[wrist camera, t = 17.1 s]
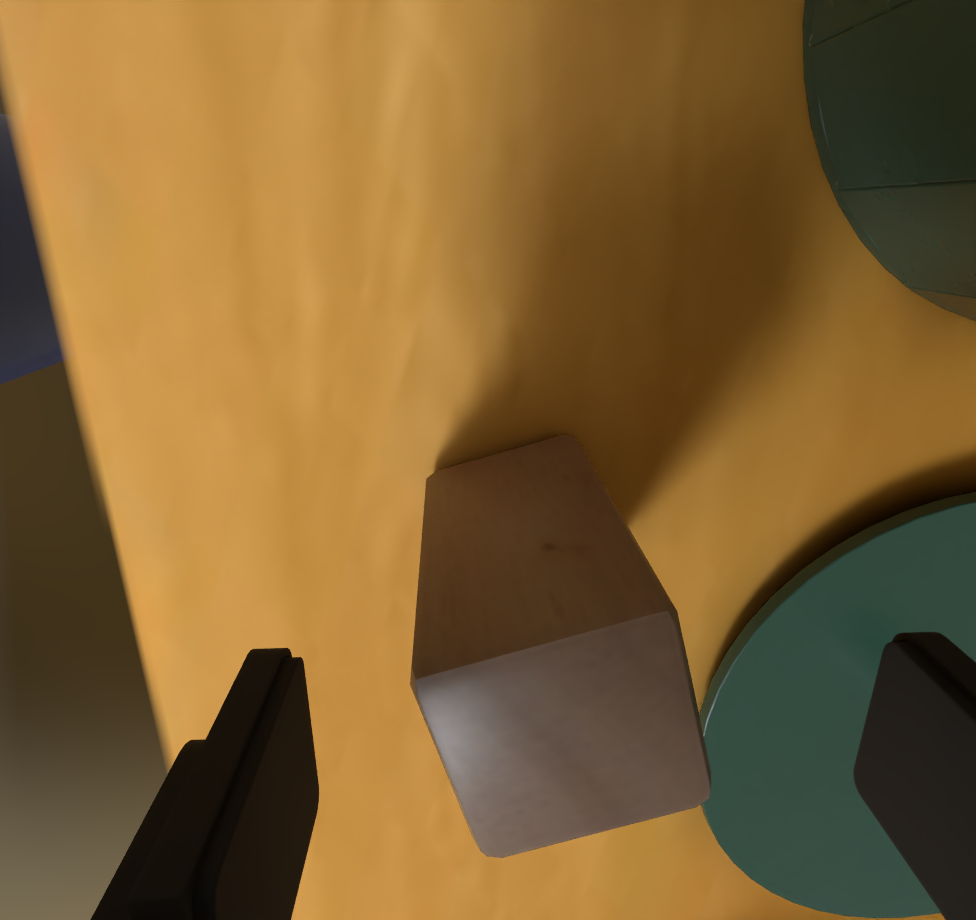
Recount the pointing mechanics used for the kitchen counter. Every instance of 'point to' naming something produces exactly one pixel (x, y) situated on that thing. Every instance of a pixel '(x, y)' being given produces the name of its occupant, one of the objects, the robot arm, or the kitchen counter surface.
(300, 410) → the kitchen counter surface
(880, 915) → the tin lid
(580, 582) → the wooden block
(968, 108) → the tin
